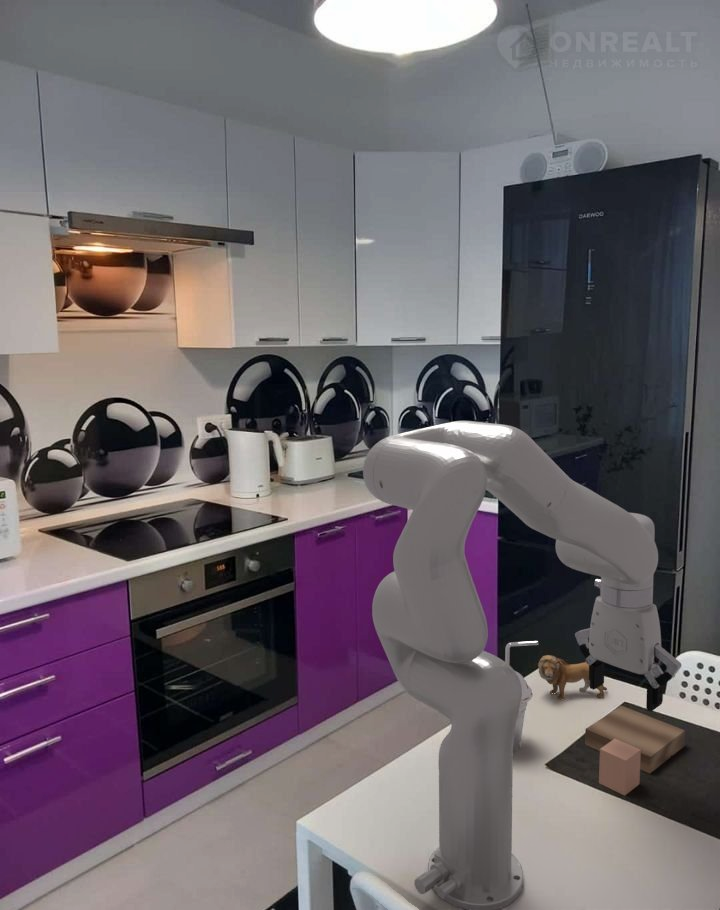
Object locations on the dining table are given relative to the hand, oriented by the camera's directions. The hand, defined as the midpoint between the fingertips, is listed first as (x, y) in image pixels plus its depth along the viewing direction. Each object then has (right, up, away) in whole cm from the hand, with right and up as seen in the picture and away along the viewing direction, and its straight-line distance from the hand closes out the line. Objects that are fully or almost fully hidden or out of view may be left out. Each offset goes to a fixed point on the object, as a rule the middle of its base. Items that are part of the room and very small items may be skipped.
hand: (624, 696), depth 117 cm
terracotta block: (0, -15, +2) cm, 15 cm away
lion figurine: (0, -10, +31) cm, 32 cm away
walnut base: (+6, -13, +13) cm, 19 cm away
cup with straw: (-16, -13, +14) cm, 25 cm away
